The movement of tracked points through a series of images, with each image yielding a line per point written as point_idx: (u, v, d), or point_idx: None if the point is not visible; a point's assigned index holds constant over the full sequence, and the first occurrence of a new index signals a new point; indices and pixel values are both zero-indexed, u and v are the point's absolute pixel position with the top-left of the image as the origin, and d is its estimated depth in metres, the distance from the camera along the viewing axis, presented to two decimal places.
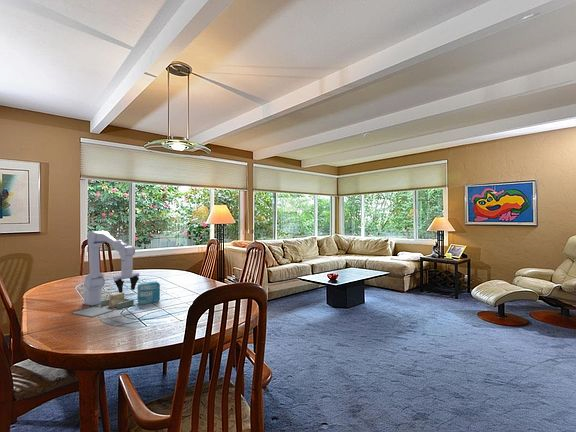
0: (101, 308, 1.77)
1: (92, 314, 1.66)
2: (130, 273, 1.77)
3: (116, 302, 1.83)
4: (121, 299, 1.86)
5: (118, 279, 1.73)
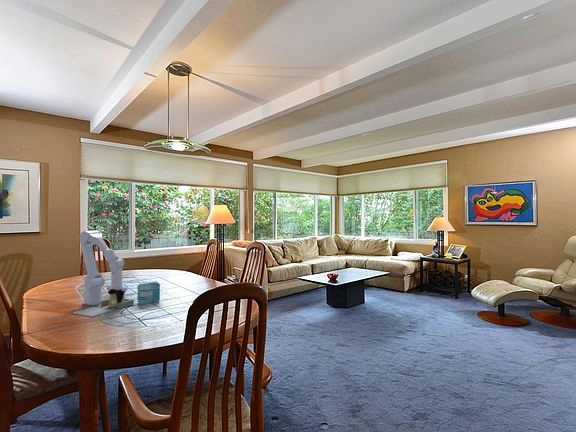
0: (101, 308, 1.77)
1: (92, 314, 1.66)
2: (112, 285, 1.82)
3: (116, 302, 1.83)
4: None
5: (109, 288, 1.87)
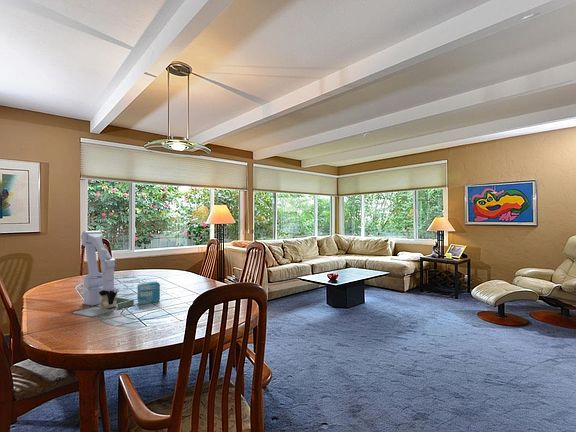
0: (101, 308, 1.77)
1: (92, 314, 1.66)
2: (103, 286, 1.77)
3: (108, 303, 1.78)
4: None
5: (101, 289, 1.82)
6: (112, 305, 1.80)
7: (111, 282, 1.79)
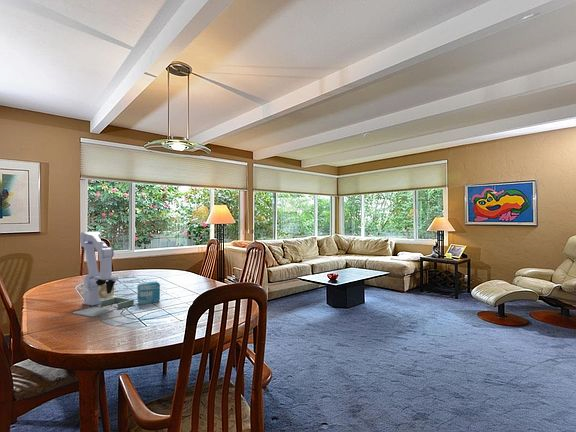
0: (101, 308, 1.77)
1: (92, 314, 1.66)
2: (102, 275, 1.76)
3: None
4: None
5: (97, 279, 1.79)
6: (110, 295, 1.79)
7: (110, 271, 1.78)
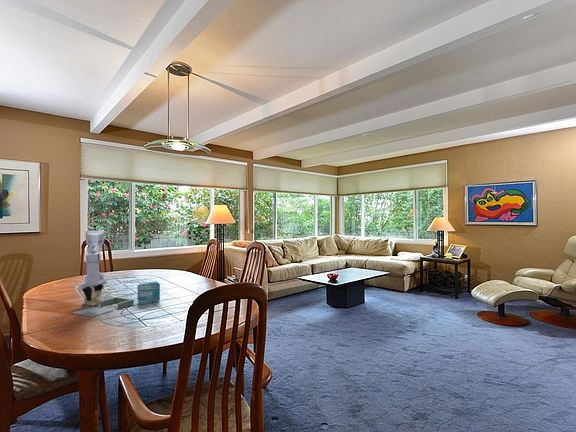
0: (101, 308, 1.77)
1: (92, 314, 1.66)
2: (96, 281, 1.71)
3: None
4: None
5: (83, 287, 1.66)
6: None
7: None
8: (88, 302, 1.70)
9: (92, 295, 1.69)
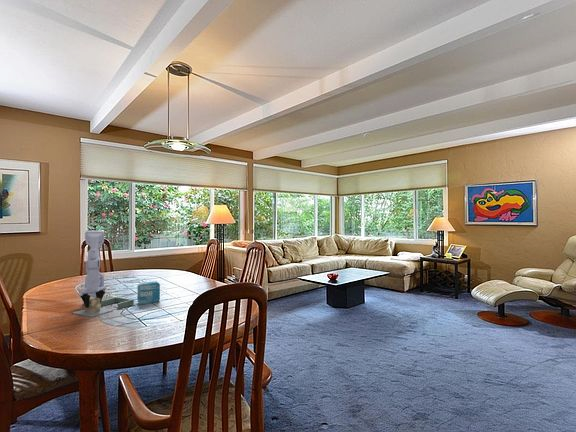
0: (101, 308, 1.77)
1: (92, 314, 1.66)
2: (96, 287, 1.71)
3: None
4: None
5: (83, 294, 1.66)
6: None
7: None
8: (88, 310, 1.70)
9: (92, 303, 1.69)
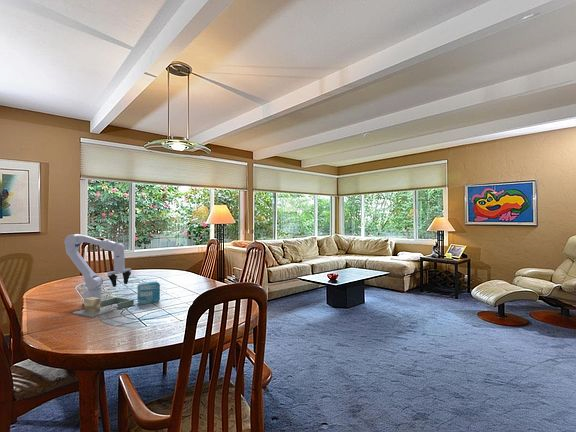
0: (101, 308, 1.77)
1: (92, 314, 1.66)
2: (123, 268, 1.91)
3: None
4: None
5: (112, 274, 1.87)
6: None
7: None
8: (88, 310, 1.70)
9: (92, 303, 1.69)
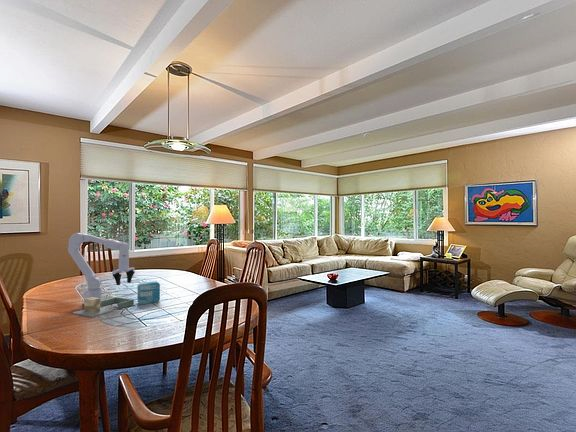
0: (101, 308, 1.77)
1: (92, 314, 1.66)
2: (127, 267, 1.95)
3: None
4: None
5: (116, 273, 1.91)
6: None
7: None
8: (88, 310, 1.70)
9: (92, 303, 1.69)
